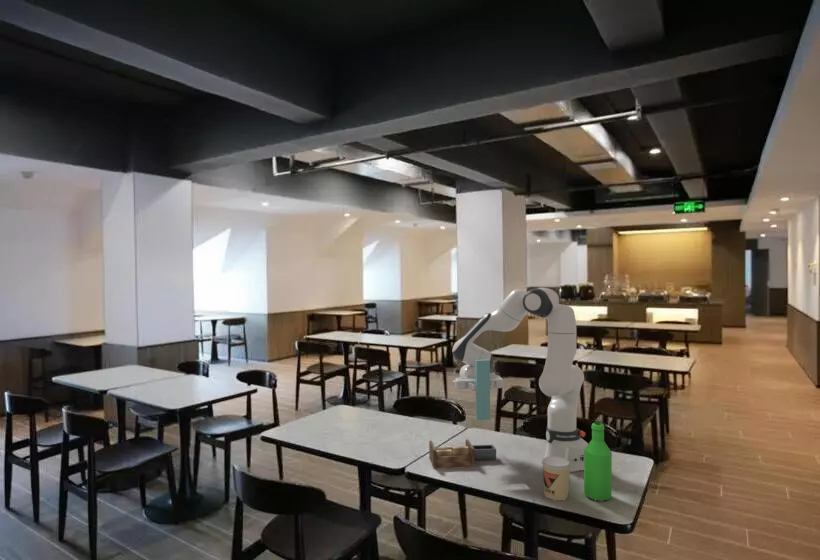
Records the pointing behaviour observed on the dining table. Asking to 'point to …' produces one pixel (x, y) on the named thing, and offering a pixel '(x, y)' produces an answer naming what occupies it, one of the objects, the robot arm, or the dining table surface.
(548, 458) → the coffee cup
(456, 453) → the oak offcut
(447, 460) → the walnut rack
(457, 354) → the robot arm
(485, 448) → the charcoal holder
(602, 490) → the bottle
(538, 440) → the dining table surface
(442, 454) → the oak offcut
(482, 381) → the teal panel
